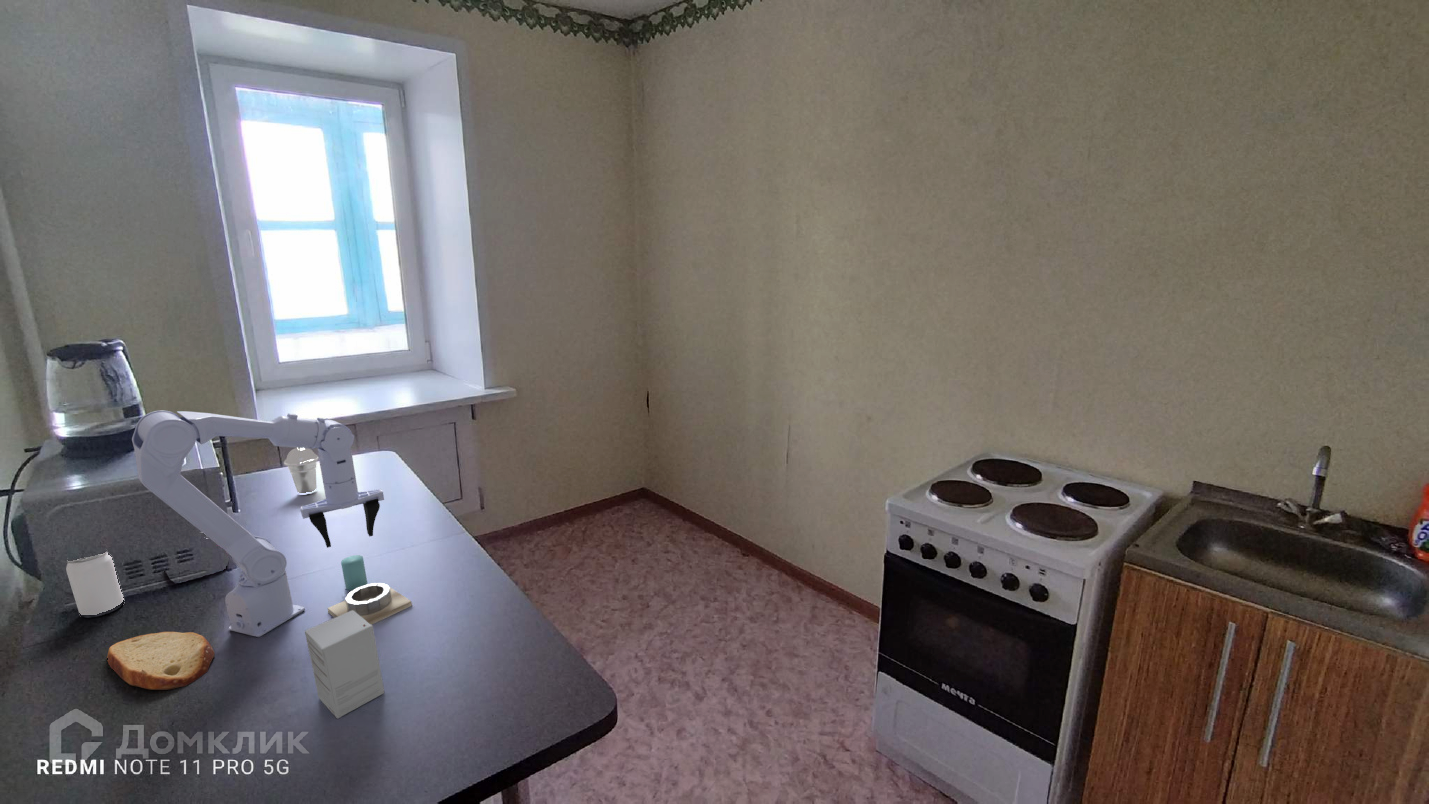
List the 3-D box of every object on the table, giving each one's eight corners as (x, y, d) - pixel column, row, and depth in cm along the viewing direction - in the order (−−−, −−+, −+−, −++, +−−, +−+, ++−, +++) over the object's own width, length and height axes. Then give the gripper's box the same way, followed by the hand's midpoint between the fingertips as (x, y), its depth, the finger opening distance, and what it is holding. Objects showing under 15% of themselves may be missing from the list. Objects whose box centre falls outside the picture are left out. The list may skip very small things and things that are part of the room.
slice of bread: (118, 647, 112) (112, 629, 111) (237, 625, 118) (233, 608, 117) (57, 716, 96) (51, 696, 95) (199, 686, 102) (194, 667, 101)
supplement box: (366, 674, 104) (354, 608, 101) (385, 694, 99) (374, 625, 96) (317, 699, 98) (303, 629, 95) (335, 720, 94) (321, 648, 91)
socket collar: (369, 618, 118) (367, 607, 117) (338, 611, 120) (336, 600, 119) (399, 597, 124) (397, 586, 124) (370, 591, 127) (368, 580, 126)
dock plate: (411, 605, 123) (411, 601, 123) (354, 632, 115) (353, 628, 115) (384, 587, 130) (384, 583, 130) (328, 612, 121) (327, 608, 121)
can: (134, 601, 126) (119, 547, 123) (100, 620, 119) (84, 564, 116) (105, 599, 126) (90, 546, 123) (70, 618, 120) (53, 563, 117)
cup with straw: (288, 501, 174) (275, 433, 169) (291, 490, 182) (279, 424, 177) (323, 494, 178) (311, 428, 173) (325, 484, 186) (314, 420, 181)
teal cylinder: (356, 592, 128) (351, 566, 127) (341, 588, 130) (336, 563, 128) (371, 582, 132) (367, 556, 131) (357, 579, 133) (352, 554, 132)
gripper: (299, 493, 118) (311, 558, 121) (383, 475, 127) (392, 536, 130) (295, 483, 123) (306, 544, 127) (375, 466, 132) (384, 524, 135)
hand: (349, 539), depth 129 cm, fingers open, 7 cm apart
